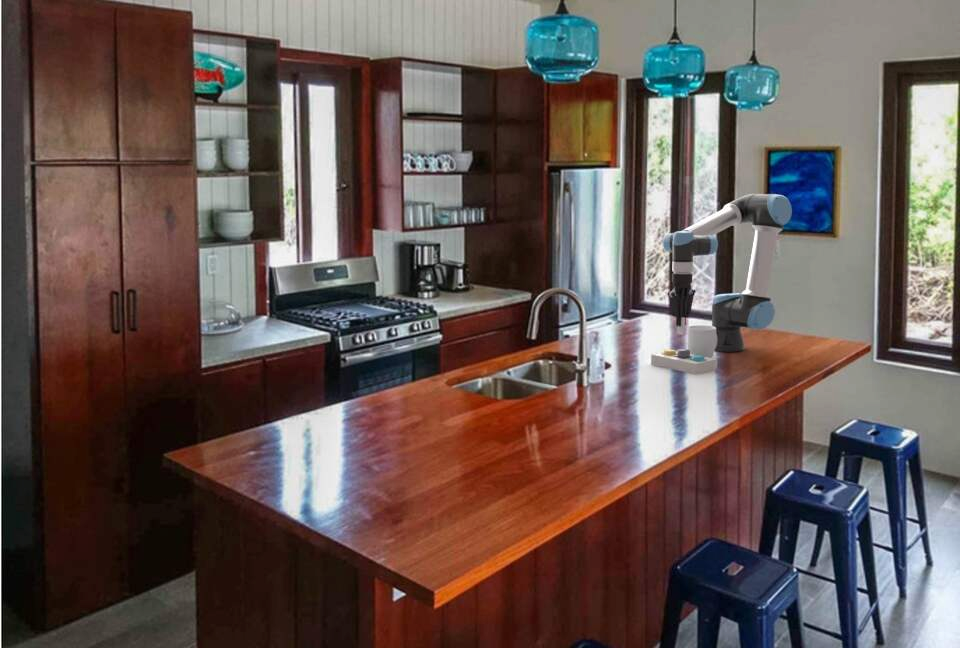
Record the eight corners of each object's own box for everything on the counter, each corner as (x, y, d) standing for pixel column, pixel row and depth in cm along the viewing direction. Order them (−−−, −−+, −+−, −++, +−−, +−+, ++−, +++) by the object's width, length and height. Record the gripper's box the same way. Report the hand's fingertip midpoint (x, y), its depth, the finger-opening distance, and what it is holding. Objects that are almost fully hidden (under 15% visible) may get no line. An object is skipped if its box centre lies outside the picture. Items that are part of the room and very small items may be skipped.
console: (672, 360, 353) (672, 350, 352) (716, 369, 335) (716, 359, 335) (651, 364, 346) (651, 354, 345) (695, 374, 328) (695, 363, 328)
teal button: (697, 364, 338) (697, 354, 337) (707, 367, 334) (707, 356, 334) (688, 366, 335) (688, 356, 335) (698, 368, 331) (698, 358, 331)
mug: (704, 354, 362) (705, 322, 360) (727, 358, 354) (728, 326, 352) (681, 359, 353) (681, 327, 351) (703, 364, 345) (704, 331, 342)
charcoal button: (682, 358, 343) (683, 348, 343) (692, 360, 340) (692, 350, 339) (674, 360, 341) (674, 350, 340) (684, 362, 337) (684, 352, 336)
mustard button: (669, 358, 349) (669, 348, 348) (678, 360, 345) (678, 350, 345) (660, 360, 346) (660, 350, 346) (670, 362, 343) (670, 352, 342)
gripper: (686, 270, 342) (685, 330, 346) (662, 273, 335) (661, 334, 339) (701, 272, 336) (699, 333, 340) (677, 274, 329) (675, 337, 333)
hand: (680, 334), depth 339 cm, fingers closed
